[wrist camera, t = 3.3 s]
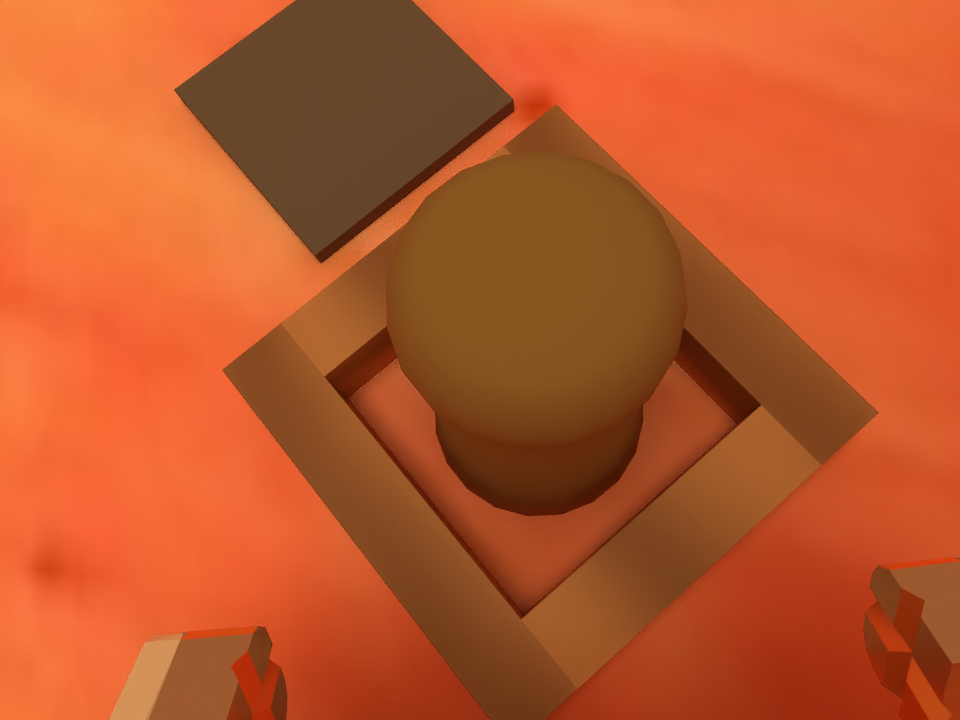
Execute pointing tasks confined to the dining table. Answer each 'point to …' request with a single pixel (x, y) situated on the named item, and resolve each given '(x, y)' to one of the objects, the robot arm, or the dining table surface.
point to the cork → (536, 324)
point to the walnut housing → (622, 558)
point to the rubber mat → (343, 110)
